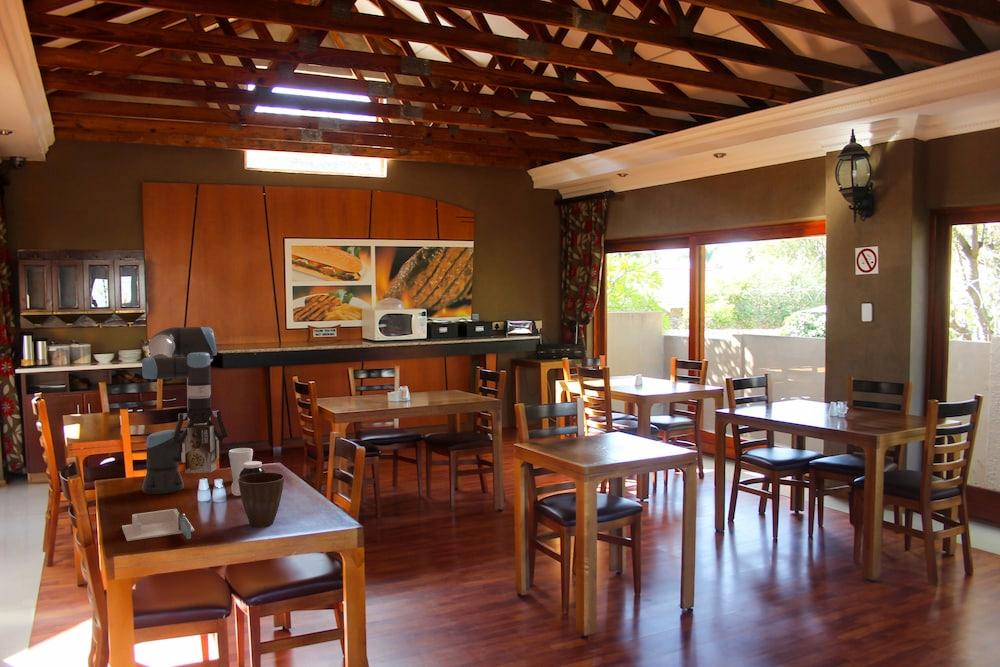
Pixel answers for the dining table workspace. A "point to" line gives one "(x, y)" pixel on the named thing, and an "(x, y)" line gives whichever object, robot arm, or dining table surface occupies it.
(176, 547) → the dining table surface
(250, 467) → the spread jar
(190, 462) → the coffee box
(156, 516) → the white shallow tray
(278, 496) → the plant pot
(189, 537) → the ball knob lever
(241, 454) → the foam cup
